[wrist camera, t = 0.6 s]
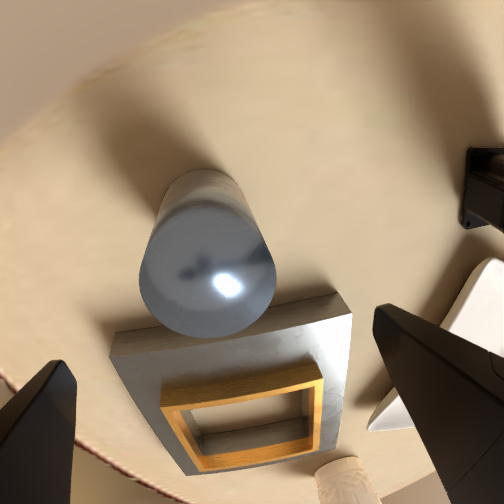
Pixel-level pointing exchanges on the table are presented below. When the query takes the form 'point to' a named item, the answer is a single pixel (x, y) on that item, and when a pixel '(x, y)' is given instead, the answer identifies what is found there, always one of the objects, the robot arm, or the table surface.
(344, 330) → the grey and gold frame
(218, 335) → the can
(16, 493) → the robot arm
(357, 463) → the white cup
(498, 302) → the salad plate
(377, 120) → the table surface
